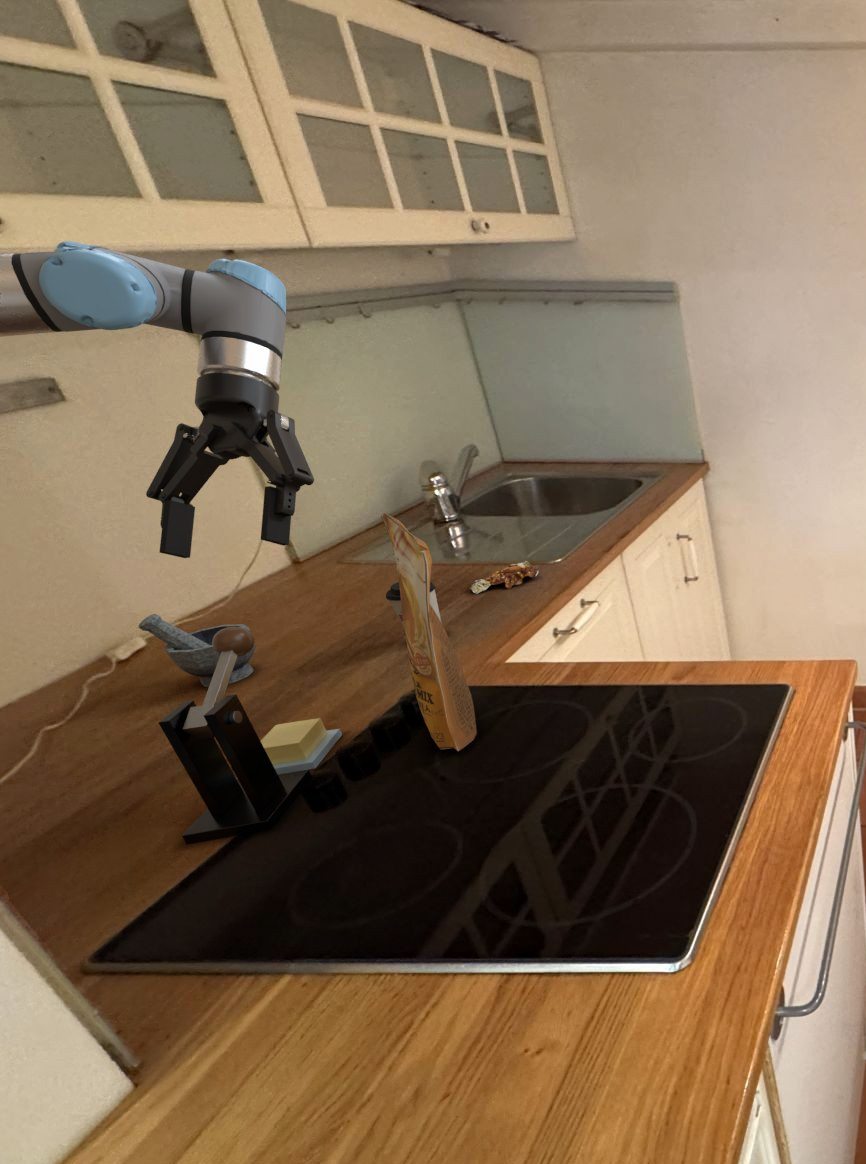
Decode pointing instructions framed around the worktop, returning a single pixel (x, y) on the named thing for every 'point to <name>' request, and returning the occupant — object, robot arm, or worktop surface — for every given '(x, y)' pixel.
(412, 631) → the pancake mix bag
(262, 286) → the robot arm
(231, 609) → the worktop surface
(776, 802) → the worktop surface
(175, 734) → the lever base
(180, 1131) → the worktop surface
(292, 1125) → the worktop surface
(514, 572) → the pastry
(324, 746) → the butter dish
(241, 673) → the mortar and pestle
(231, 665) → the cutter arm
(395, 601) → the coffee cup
